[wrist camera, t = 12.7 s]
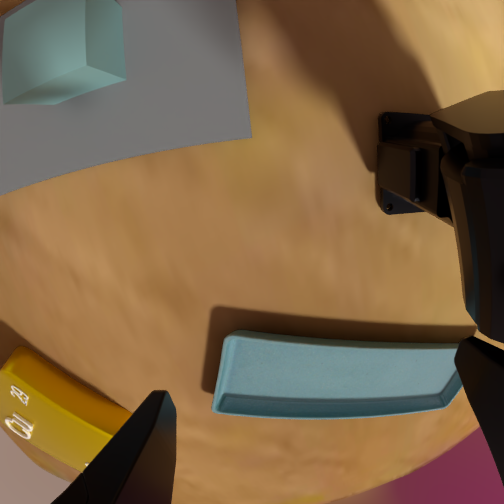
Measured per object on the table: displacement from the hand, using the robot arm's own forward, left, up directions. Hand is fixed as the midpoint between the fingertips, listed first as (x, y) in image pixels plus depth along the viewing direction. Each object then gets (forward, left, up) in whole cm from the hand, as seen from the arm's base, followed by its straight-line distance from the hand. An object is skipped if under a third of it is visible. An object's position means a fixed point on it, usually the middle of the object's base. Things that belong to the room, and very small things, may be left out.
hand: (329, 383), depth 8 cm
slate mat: (+10, -13, -12) cm, 20 cm away
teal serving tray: (-7, +14, -13) cm, 20 cm away
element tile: (+25, +18, -13) cm, 33 cm away
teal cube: (+10, -13, -11) cm, 20 cm away
